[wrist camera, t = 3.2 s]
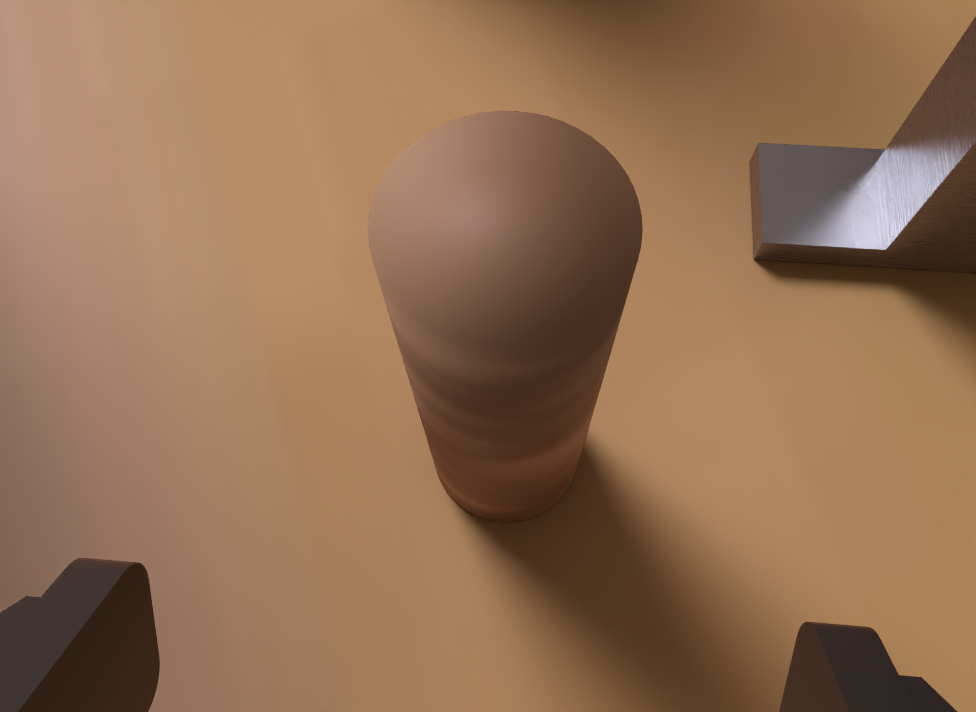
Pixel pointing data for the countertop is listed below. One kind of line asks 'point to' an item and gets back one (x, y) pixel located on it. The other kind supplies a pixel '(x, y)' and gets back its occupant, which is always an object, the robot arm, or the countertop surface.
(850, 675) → the robot arm
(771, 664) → the countertop surface
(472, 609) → the countertop surface
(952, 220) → the keeper bracket
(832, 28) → the countertop surface
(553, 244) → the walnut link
